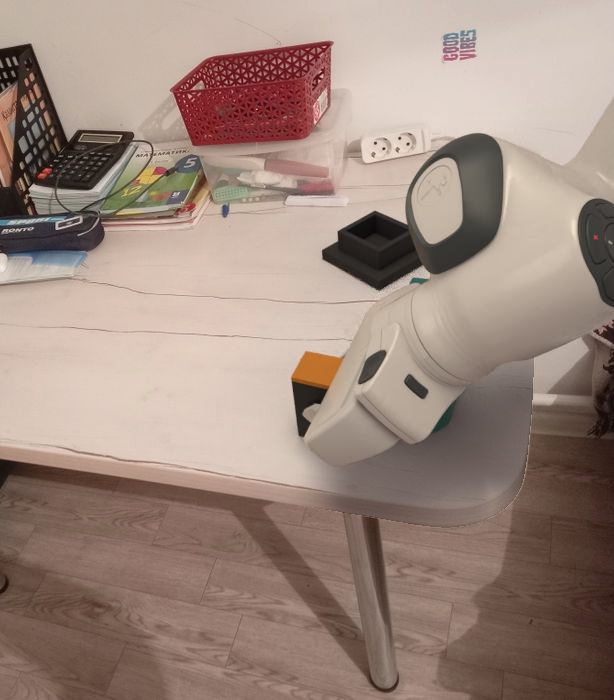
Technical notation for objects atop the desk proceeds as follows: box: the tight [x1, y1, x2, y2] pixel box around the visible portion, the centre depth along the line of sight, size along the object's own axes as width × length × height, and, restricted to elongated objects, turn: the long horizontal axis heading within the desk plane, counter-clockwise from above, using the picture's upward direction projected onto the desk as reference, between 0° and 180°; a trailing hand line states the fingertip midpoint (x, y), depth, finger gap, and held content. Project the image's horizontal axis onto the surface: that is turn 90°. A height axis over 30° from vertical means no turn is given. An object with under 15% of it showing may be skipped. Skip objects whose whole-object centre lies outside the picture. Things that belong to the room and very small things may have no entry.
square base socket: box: [321, 210, 423, 291], centre depth 85 cm, size 11×10×4 cm
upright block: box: [290, 350, 344, 438], centre depth 64 cm, size 5×4×9 cm
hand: (318, 396), depth 64 cm, fingers closed on upright block, 4 cm apart
